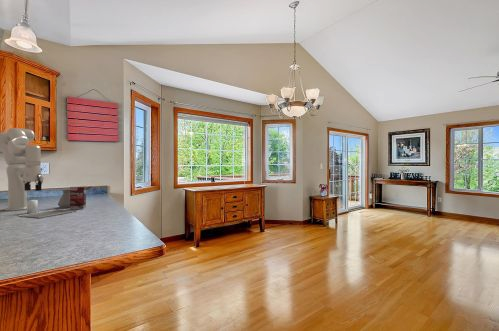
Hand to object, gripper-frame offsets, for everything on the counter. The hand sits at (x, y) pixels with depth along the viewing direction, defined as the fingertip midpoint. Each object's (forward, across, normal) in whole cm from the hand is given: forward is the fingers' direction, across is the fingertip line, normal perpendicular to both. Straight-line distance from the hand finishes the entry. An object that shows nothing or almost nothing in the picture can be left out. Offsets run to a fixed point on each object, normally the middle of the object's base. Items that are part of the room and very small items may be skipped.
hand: (32, 190), depth 158 cm
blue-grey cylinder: (+14, -1, 0) cm, 15 cm away
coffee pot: (+15, +2, +27) cm, 31 cm away
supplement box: (+15, +13, +20) cm, 28 cm away
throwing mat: (+15, +14, 0) cm, 21 cm away
